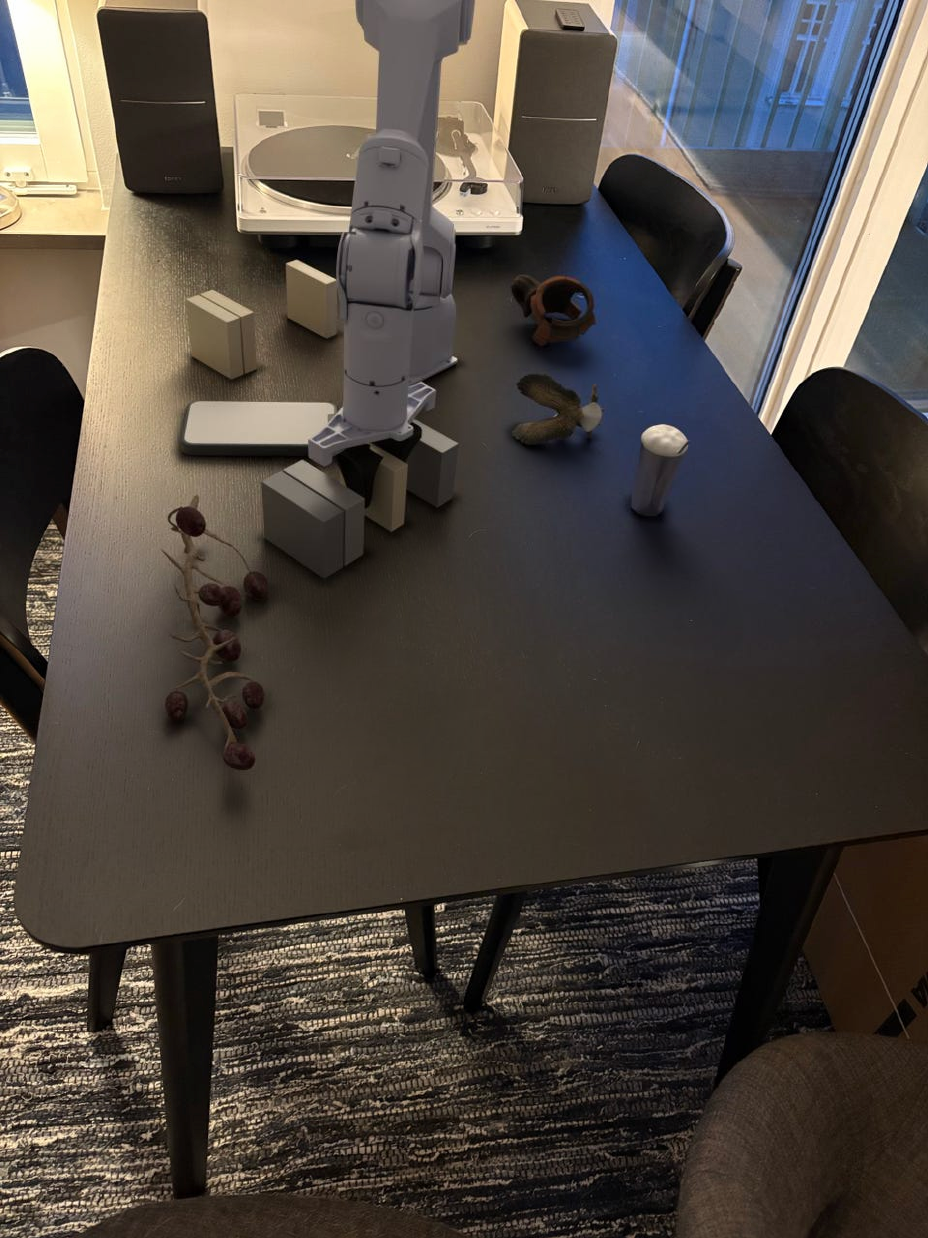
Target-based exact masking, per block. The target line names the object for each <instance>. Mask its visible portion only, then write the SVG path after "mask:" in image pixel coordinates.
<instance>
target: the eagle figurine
mask: <svg viewBox="0 0 928 1238" xmlns="http://www.w3.org/2000/svg"><path fill="white" fill-rule="evenodd" d="M515 385H516V386H517V390H519V391H520V392H519V393H520V394H521V395H522V396H525V397H526V398H528V399H530V400H533V401H534V402H535V403H536V404H538V405H540V406H543V407H546V408H549V409H551V410H554V411H556V414H555V415H554V416H552V417H548V418H543V419H538V420H535V421H532V422H528V423H520V424H518V426H517V427H515V428H514V430H513V431H512V432H511V433H512V437H513V438H515V440H517V441H520V443H521V444H522V443H523V444H525V445H530V446H532V445H541V444H542V443H547V442H549V441H554V440H557V439H558V440H562V441H563V440H565V439H568V438H569V437H572V435H573V434H574V431H575V430H576V427H578V428H582V429H583V430H584V431H585V434H586V436H588V437H589V438H592V435H593V434H592V433H593V430H594V429H595V428H596V427H598V426H600V425H601V420H602V417H603V412H605V408H602V407H601V406H600V405H599V404H598V401H599V397H598V395H597V390H598V385H597V383H594V384H593V386H592V389H591V395H590V402H589V403H588V404H587V405H584V406H582V407H581V402H582V401H581V397H579V395H578V393H577V392H576V391H575V390H574V389H573V388H571V389H569V388H566V387H565V386H564V385H562V384H561V383H559V382H557V381H556V379H553V378H552V376H551V375H547V374H546V373H544V374H543V373H538V372H537V373H527V375H523V376H522V377H520V378H519V381H517V382H516V383H515Z"/></svg>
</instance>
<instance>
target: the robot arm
mask: <svg viewBox="0 0 928 1238" xmlns="http://www.w3.org/2000/svg"><path fill="white" fill-rule="evenodd" d="M354 2H355V5H354V6H355V16H356V22H357V23H358V24H359V26H360V27H361V30H362V31H363V39H364V42H365V43H367V44H368V45H369V46H371V47H372V48H373V49H375V50H376V51H377V52H378V67H377V68H378V69H377V90H376V91H377V96H376V120H375V121H376V122H375V133H374V134H373V135H372V136H370V137H369V138H368V139H366V140H365V141H363V143H362V144H361V145H360V147H359V149H358V153H357V162H356V170H355V177H354V178H355V179H354V185H353V193H352V201H351V210H350V218H349V225H348V233H346V232H345V231H343V232H342V234H341V236H340V240H339V243H338V248H337V257H336V273H335V274H336V275H335V276H336V278H335V279H336V280H337V296H338V300H339V318H340V322H341V323H343V370H342V371H343V390H342V391H343V392H342V393H343V395H342V407H341V408H340V409H338V412H337V413H336V414H335V416H334V417H333V418H332V419H331V420H330V421H329V422H328V423H327V424H326V426H325V427H324V428H323V429H322V430H321V431H320V432H319V433H318V434H316V435H315V436H313V437H311V438H310V439H308V450H309V456H308V458H309V459H311V460H312V461H313V462H315V463H317V464H318V465H321V466H322V467H324V468H325V467H327V466H329V465H330V464H332V463H333V460H334V461H335V463H336V465H337V467H338V469H339V472H340V471H341V473H342V476H343V478H344V481H345V484H346V487H347V488H349V489H350V490H352V491H353V492H355V493H357V494H358V495H360V496H361V497H363V498H364V499H365V507H364V509H366V508H368V507H369V506H370V503H371V500H372V493H373V483H374V478H375V475H376V472H377V469H378V467H379V464H380V463H381V461H382V459H383V458H384V457H383V456H381V455H379V454H378V453H376V452H374V451H372V450H371V449H370V444H367V443H372V444H374V445H376V446H377V447H379V448H381V449H382V450H384V451H386V452H388V453H389V454H391V455H393V456H394V457H396V458H398V459H399V460H401V461H403V462H406V460H407V458H408V456H409V454H410V453H411V451H412V450H413V448H414V447H415V445H416V444H417V443H418V441H419V440H420V439H421V438H422V428H421V427H420V426H419V425H417V424H415V423H414V422H412V421H413V419H416V417H417V416H418V415H419V413H420V412H421V410H424V411H426V412H428V411H429V412H430V411H431V410H433V409H434V408H435V407H436V396H437V389H435V388H433V387H431V386H429V385H428V384H425V383H424V382H423V381H425V380H427V379H429V378H431V377H433V376H434V375H436V374H439V373H440V372H443V371H444V370H446V369H448V368H450V367H452V366H455V365H456V364H457V363H458V360H459V359H458V358H457V357H455V356H453V355H454V354H453V353H454V342H455V333H456V321H457V305H456V302H455V299H454V297H453V295H452V291H453V281H454V272H455V261H456V252H457V251H456V250H457V248H456V247H457V244H456V233H457V230H456V228H455V223H454V222H453V221H452V220H451V219H449V217H447V216H446V215H444V214H442V212H440V211H439V210H438V209H436V208H435V207H434V205H433V203H434V201H433V200H434V185H435V172H436V171H435V170H436V169H435V168H436V155H437V139H438V138H437V137H438V123H439V107H440V93H441V91H440V90H441V78H442V77H441V75H442V63H443V60H444V58H447V57H450V56H452V55H454V54H457V53H458V52H459V48H460V47H461V46H467V45H468V42H469V40H471V37H472V31H473V24H474V14H475V7H476V6H475V5H476V0H354Z"/></svg>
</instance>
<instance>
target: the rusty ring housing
mask: <svg viewBox="0 0 928 1238" xmlns="http://www.w3.org/2000/svg"><path fill="white" fill-rule="evenodd" d="M510 288H511V293H512V296H513V298H514V300H515V301H516V303H517V304H518V305H519V307H520V308H521V310H522V314H523V318H527V319H528V317H529V316H530V315H532V317H533V319H534V321H535V323H536V325H537V327H536V330H535V332H534V333H533V334H532V340H533V342H535V343H536V344H537V345H539V346H540V347H544V346H545V345H546V344H548V343H550V344H554V343H561V342H562V343H563V342H567V341H572V340H577V339H579V337H580V335H584V334H586V333H587V332H588V331H589V329H590V328H591V327H592V326H595V325H596V322H597V321H596V315H595V313H594V309H595V307H596V304H595V302H594V301H595V299H594V295H593V292H592V291H591V290H590V289H589V287H588V286H587V285H586V284H585V283H583V282H581V281H580V280H578V279H577V278H574V277H571V276H565V275H558V276H553V277H550V278H548V279H545V281H543V282H541V281H539V280H537V279H536V278H534V277H533V276H531V275H527V274H520V275H516V277H515V278H514V279H513V281H512V283H511V284H510ZM575 294H581V295H583V297H584V299H585V301H586V310H585V312H584V314H583V315H581V314H582V313H583V311H582V309H581V308H580V306H578V305H577V304H575V302H573V301H572V298H573V296H574V295H575ZM556 313H557V314H562V315H564V316H566V317H567V318H569V319H570V320H566V321H564V320H560V319H557V318H555V317H552V318H551V323H550V322H548V321H547V319H546V318H545V316H546V315H547V314H556Z"/></svg>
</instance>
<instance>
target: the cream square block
mask: <svg viewBox="0 0 928 1238" xmlns="http://www.w3.org/2000/svg"><path fill="white" fill-rule="evenodd" d="M367 444H370V449H371V450H372V451H374V452H376V453H378V454H379V455H381V456H383V457H384V458H383V459H382V461H381V463H380V464H379V467H378V469H377V472H376V475H375V478H374V483H373V493H372V500H371V503H370V506H369V507H368V508H366V509H364V517H365V516H366V517H367V518H368V519H370V520H372V521H373V522H374V523H377V524H378V525H380V527H383V528H384V529H386V530H388V531H389V532H391V533H392V532H393V531H395V530H397V529H398V528H400V527H401V526H403V525H404V524H405V512H406V499H407V498H406V496H407V489H406V484H407V469H408V464H406V463H405V462H403V461H401V460H399V459H398V458H396V457H394V456H393V455H391V454H389V453H388V452H386V451H384V450H382V449H381V448H379V447H377V446H376V445H374V444H372V443H367ZM339 483H341V484H342V485H344V486H345V487H346V484H345V481H344V478H343V476H342V473H341V471H340V470H339Z"/></svg>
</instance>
